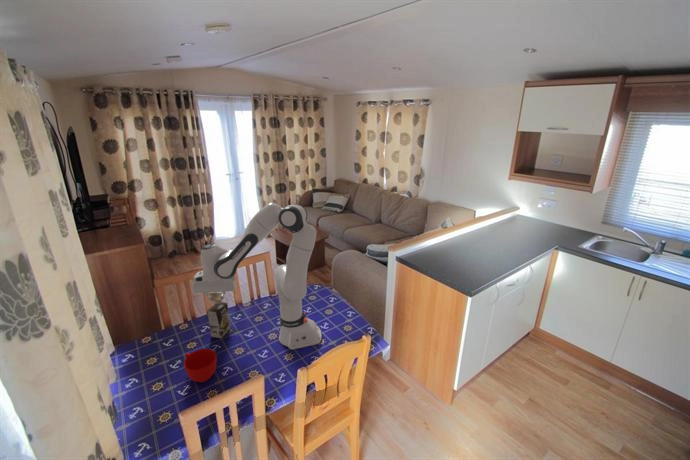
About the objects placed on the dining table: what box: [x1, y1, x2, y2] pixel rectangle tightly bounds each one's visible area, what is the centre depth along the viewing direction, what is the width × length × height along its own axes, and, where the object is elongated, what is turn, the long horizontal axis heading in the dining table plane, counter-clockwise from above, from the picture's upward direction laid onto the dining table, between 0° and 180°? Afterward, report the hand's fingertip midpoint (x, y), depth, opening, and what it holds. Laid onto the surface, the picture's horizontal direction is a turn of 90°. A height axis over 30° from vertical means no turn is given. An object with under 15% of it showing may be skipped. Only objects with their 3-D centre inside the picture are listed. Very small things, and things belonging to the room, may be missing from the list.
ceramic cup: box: [183, 348, 218, 383], centre depth 142 cm, size 13×17×10 cm
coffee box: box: [207, 302, 231, 339], centre depth 169 cm, size 9×6×16 cm
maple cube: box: [209, 292, 223, 305], centre depth 164 cm, size 5×5×5 cm
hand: (216, 298), depth 164 cm, fingers closed on maple cube, 5 cm apart
